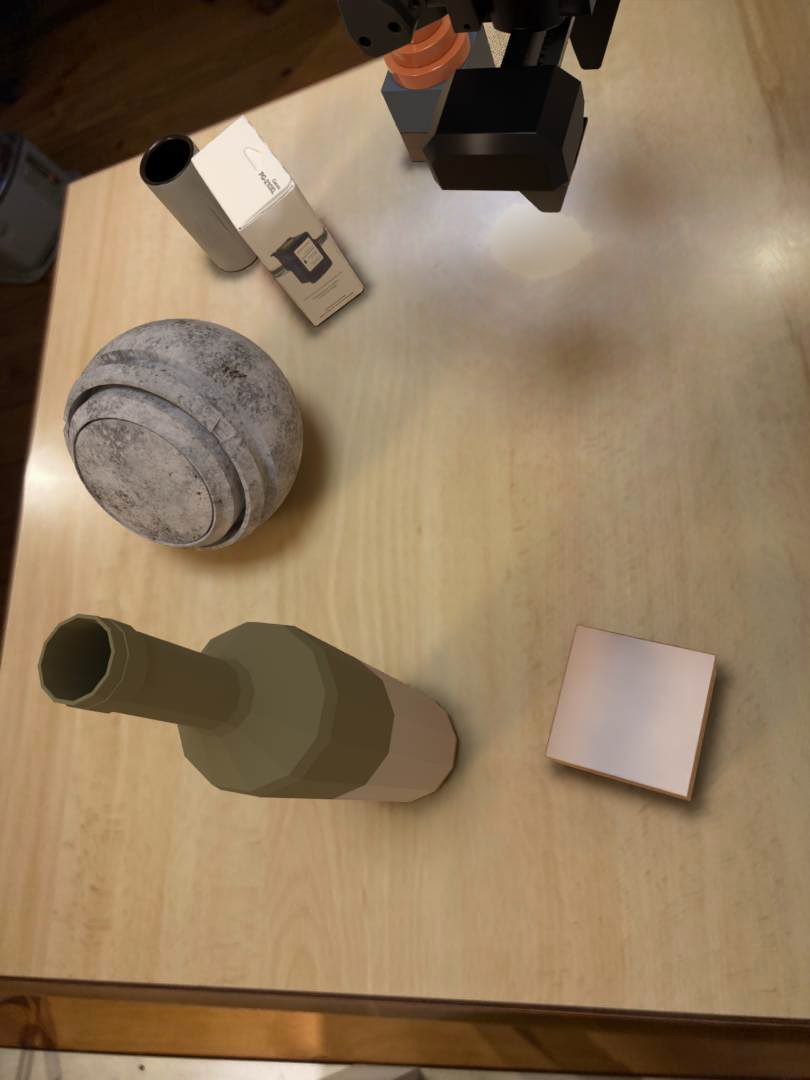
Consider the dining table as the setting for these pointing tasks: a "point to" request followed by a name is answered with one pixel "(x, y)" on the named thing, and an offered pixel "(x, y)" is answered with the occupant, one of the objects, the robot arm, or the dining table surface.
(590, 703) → the stand
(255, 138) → the ink box
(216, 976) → the dining table surface
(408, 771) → the bottle
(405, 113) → the top block
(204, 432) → the decorative orb
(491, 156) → the robot arm
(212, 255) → the planter
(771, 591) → the dining table surface
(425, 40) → the cone
